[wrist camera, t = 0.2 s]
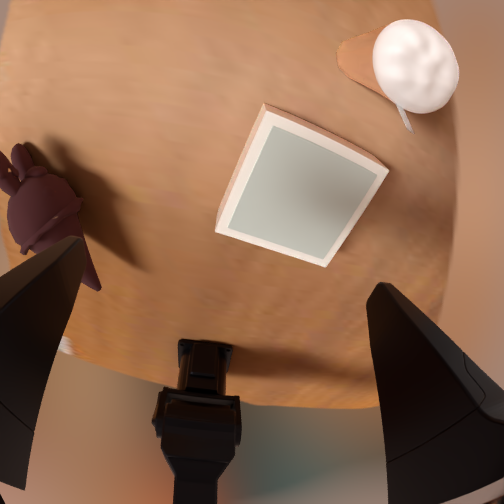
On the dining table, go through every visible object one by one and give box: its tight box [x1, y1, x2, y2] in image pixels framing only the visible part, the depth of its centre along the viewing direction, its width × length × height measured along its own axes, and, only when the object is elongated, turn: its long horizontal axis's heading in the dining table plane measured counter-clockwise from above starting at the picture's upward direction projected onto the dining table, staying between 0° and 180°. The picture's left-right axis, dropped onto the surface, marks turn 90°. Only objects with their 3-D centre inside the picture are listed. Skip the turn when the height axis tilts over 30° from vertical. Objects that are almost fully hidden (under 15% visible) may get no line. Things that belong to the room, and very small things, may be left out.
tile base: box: [215, 103, 389, 267], centre depth 20 cm, size 9×9×3 cm
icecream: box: [0, 143, 102, 291], centre depth 19 cm, size 7×7×15 cm
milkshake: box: [336, 19, 459, 134], centre depth 12 cm, size 4×5×10 cm
